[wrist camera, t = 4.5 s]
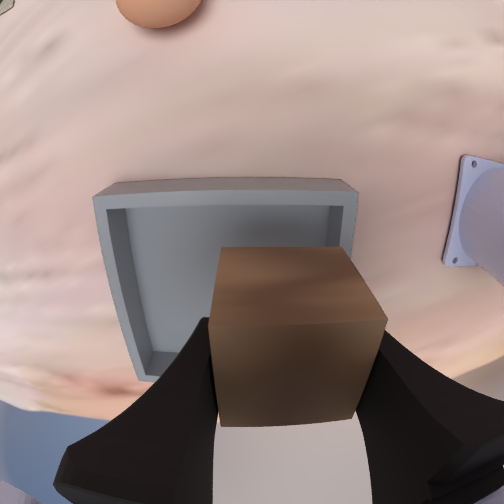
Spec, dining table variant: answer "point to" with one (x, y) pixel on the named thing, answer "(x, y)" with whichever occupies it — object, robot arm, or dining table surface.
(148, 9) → the ball
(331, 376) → the cube
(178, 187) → the tray
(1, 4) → the condiment
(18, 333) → the dining table surface
